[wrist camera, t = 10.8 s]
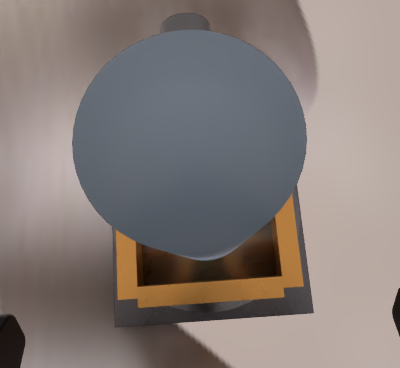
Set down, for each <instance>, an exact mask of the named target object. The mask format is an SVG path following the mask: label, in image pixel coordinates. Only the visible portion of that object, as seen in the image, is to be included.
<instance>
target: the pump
mask: <svg viewBox="0 0 400 368" xmlns="http://www.w3.org/2000/svg"><path fill="white" fill-rule="evenodd" d="M306 143H307V136H306V123H305V118H304V114H303V109H302V107H301V104H300V101H299V98H298V96H297V94H296V92H295V90H294V88H293V86H292V84H291V83H290V81H289V80H288V79H287V77H286V76H285V74H284V73H283V72H282V70H281V69H280V68H279V67H278V66H277V65H276V64H275V63H274V62H273V61H272V60H271V59H270V58H268V57H267V56H266V55H265V54H264V53H262V52H261V51H259V50H258V49H256V48H255V47H253V46H252V45H250V44H248V43H246V42H244V41H242V40H240V39H238V38H235V37H232V36H229V35H226V34H222V33H217V32H213V31H211V30H210V24H209V22H208V21H207V19H205V18H204V17H202V16H200V15H198V14H194V13H180V14H176V15H173V16H170V17H169V18H167V19H166V20H165V21H164V22H163V23H162V25H161V27H160V34H158V35H154V36H151V37H149V38H146V39H144V40H141V41H139V42H137V43H135V44H133V45H132V46H130V47H128V48H126V49H125V50H123V51H122V52H121V53H119V54H118V55H116V56H115V57H114V58H113V59H112V60H111V61H109V62H108V63H107V64H106V65H105V66H104V67H103V68H102V69H101V71H100V72H99V73H98V74H97V75H96V76H95V78H94V79H93V81H92V82H91V84H90V85H89V87H88V88H87V90H86V92H85V94H84V96H83V98H82V100H81V103H80V105H79V108H78V111H77V114H76V118H75V123H74V128H73V140H72V146H73V159H74V164H75V169H76V173H77V176H78V179H79V181H80V184H81V187H82V189H83V190H84V192H85V194H86V196H87V198H88V200H89V201H90V203H91V204H92V205H93V207H94V208H95V210H96V211H97V212H98V213H99V214H100V215H101V216H102V217H103V218H104V219H105V221H106V222H107V223H109V224H110V225H111V226H112V227H114V228H115V229H116V230H117V231H119V232H120V233H122V234H123V235H125V236H127V237H128V238H130V239H132V240H134V241H136V242H138V243H141V244H143V245H146V246H148V247H151V248H155V249H159V250H162V251H166V252H169V253H173V254H176V255H180V256H183V257H187V258H190V259H194V260H200V261H210V260H216V259H219V258H222V257H224V256H226V255H228V254H229V253H231V252H232V251H233V250H235V249H236V248H237V247H238V246H240V245H241V244H242V243H243V242H245V241H246V240H247V239H248V238H249V237H251V236H252V235H253V234H254V233H256V232H257V231H258V230H259V229H261V228H262V227H263V226H264V225H266V224H267V223H268V222H269V221H270V220H271V219H272V218H273V217H274V216H275V215H276V214H277V213H278V212H279V211H280V210H281V209H282V207H283V206H284V205H285V203H286V202H287V200H288V199H289V198H290V196H291V194H292V192H293V190H294V189H295V187H296V185H297V183H298V180H299V177H300V174H301V172H302V169H303V164H304V160H305V155H306Z"/></svg>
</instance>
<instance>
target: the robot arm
mask: <svg viewBox="0 0 400 368" xmlns="http://www.w3.org/2000/svg"><path fill="white" fill-rule="evenodd" d="M392 314H393V319H394V322H395V325H396V327H397V330H398V333H399V336H400V288H399V289H398V292H397V296H396V299H395V302H394V305H393V309H392ZM24 347H25V336H24V333H23V331H22V329H21V328H20V326H19V324H18V322H17V320H16V318H15V317H14V316H13V315H11V314H6V315H0V368H20V365H21V361H22V356H23V352H24Z"/></svg>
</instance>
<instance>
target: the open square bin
mask: <svg viewBox="0 0 400 368" xmlns="http://www.w3.org/2000/svg"><path fill="white" fill-rule="evenodd" d="M112 232H113V266H114V310H115V327H126V326H140V325H154V324H168V323H182V322H196V321H210V320H223V319H236V318H237V319H238V318H251V317H266V316H280V315H294V314H307V313H314V311H313V304H312V296H311V289H310V281H309V273H308V266H307V258H306V251H305V243H304V235H303V228H302V220H301V213H300V205H299V198H298V190H297V185H296V187H295V189H294V190H293V192H292V194H291V196H290V198H289V199H288V200H287V202H286V203H285V205H284V206H283V207H282V209H281V210H280V211H279V212H278V213H277V214H276V215H275V216H274V217H273V218H272V219H271V220H270V221H269V222H268V223H267V224H266V225H264V226H263V227H262V228H261V229H259V230H258V231H257V232H256V233H254V234H253V235H252V236H251V237H249V238H248V239H247V240H246V241H245V242H243V243H242V244H241V245H240V246H238V247H237V248H236V249H235V250H233V251H232V252H231V253H229V254H228V255H226V256H224V257H222V258H219V259H216V260H210V261H200V260H194V259H190V258H187V257H183V256H180V255H176V254H173V253H169V252H166V251H162V250H159V249H155V248H151V247H148V246H146V245H143V244H141V243H138V242H136V241H134V240H132V239H130V238H128V237H127V236H125V235H123V234H122V233H120V232H119V231H117V230H116V229H115V228H114V227H112Z"/></svg>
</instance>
